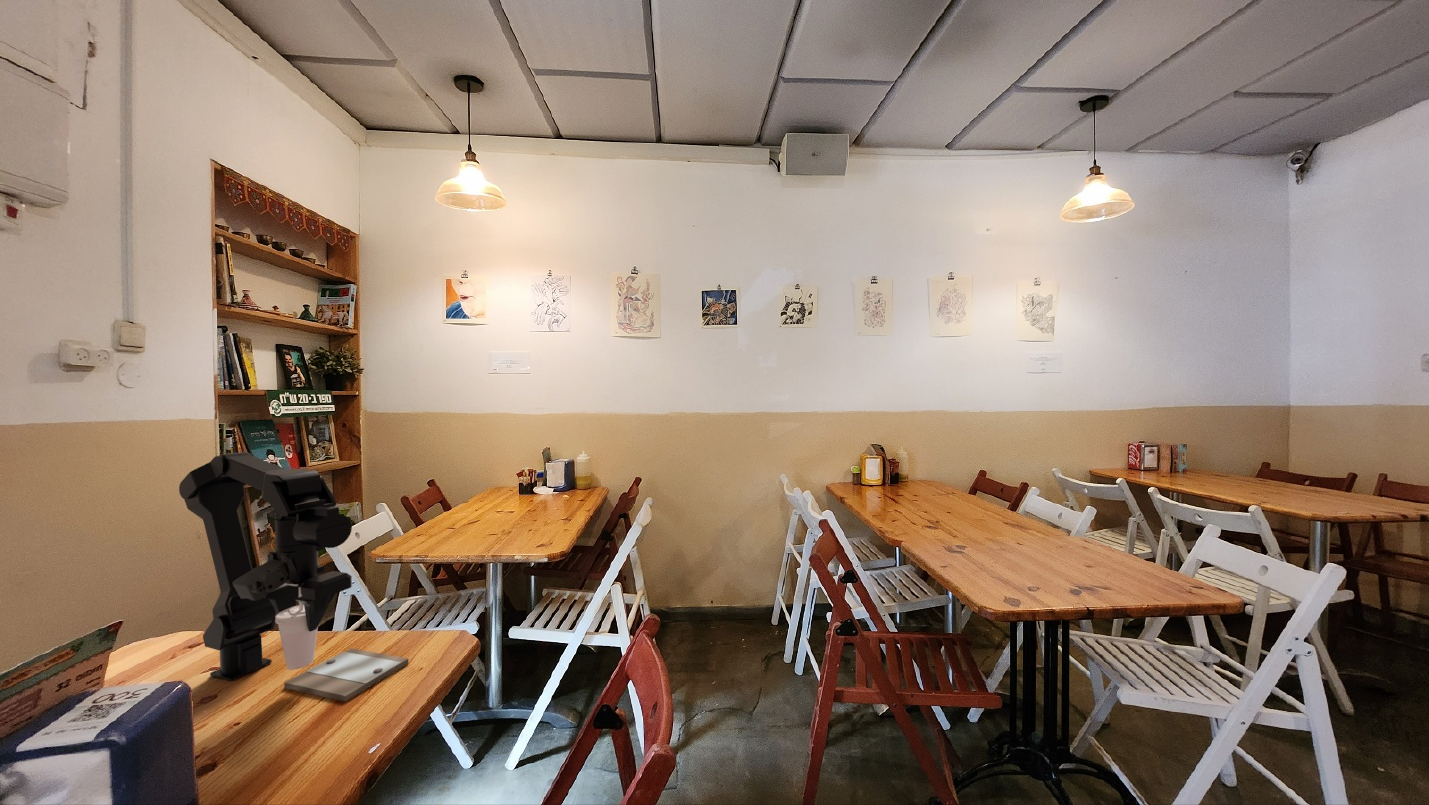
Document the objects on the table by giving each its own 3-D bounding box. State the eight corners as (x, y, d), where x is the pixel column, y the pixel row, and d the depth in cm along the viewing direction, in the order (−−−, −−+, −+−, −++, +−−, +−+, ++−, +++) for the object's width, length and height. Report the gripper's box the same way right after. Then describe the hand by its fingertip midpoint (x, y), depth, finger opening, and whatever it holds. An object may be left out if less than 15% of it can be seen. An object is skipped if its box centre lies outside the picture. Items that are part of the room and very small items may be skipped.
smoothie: (296, 676, 83) (293, 595, 83) (266, 672, 84) (264, 592, 84) (332, 656, 89) (330, 581, 89) (304, 652, 91) (302, 578, 90)
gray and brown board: (284, 688, 87) (284, 680, 87) (351, 653, 98) (351, 647, 98) (345, 701, 82) (345, 694, 82) (408, 663, 94) (408, 657, 94)
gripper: (204, 552, 81) (207, 643, 82) (281, 561, 76) (284, 659, 76) (280, 533, 92) (282, 614, 92) (352, 540, 87) (355, 626, 87)
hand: (299, 628), depth 87 cm, fingers closed on smoothie, 6 cm apart
